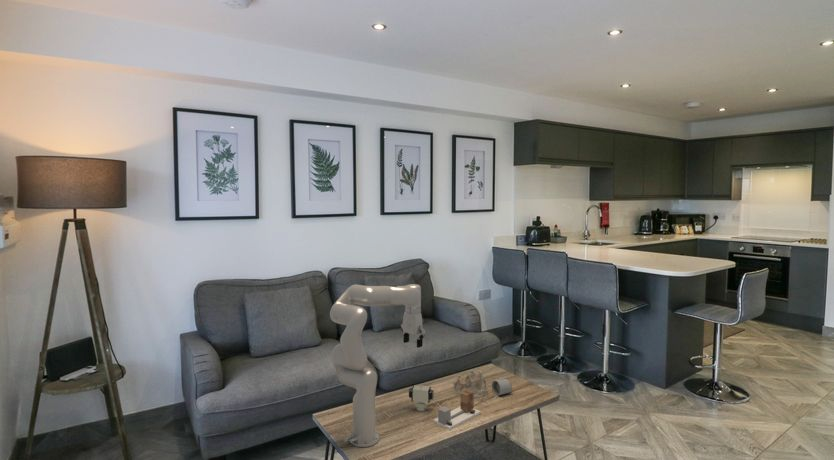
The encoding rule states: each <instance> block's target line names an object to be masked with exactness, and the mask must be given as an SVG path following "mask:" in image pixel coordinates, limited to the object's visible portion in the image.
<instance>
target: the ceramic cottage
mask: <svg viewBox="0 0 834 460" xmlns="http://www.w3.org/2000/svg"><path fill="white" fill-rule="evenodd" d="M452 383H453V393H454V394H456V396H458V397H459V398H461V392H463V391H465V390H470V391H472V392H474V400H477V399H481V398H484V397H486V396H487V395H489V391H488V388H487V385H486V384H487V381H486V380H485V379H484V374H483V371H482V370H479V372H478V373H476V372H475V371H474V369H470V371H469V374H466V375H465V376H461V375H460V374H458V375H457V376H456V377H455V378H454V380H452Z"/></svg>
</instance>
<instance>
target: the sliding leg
mask: <svg viewBox="0 0 834 460" xmlns="http://www.w3.org/2000/svg"><path fill="white" fill-rule="evenodd" d="M474 401H475V399H474V392H472V391H470V390H465V391H463V392H461V397H460V406H461V409H462V410H464V411H466V412H468V411H469V410H471V411H474V412H475V410H474V409H475V408H474V407H475V406H474V405H475V404H474V403H475V402H474ZM473 408H474V409H473Z"/></svg>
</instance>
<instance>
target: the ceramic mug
mask: <svg viewBox="0 0 834 460" xmlns="http://www.w3.org/2000/svg"><path fill="white" fill-rule="evenodd" d="M491 389H492V392H493V394H494V395H495V396H502V395H505V394H509V393H511V392H512V390H513V388H512V383H511V381H510V380H509V379H506V378H503V379H494V380H493V381H492V383H491Z"/></svg>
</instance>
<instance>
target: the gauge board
mask: <svg viewBox="0 0 834 460" xmlns="http://www.w3.org/2000/svg"><path fill="white" fill-rule="evenodd" d="M473 409H474V410H475V412H474V411H471V410H469V411H468V412H466V411H464V410H462V409H461V405H460V406H459V407H456V408H454V409H451V408H449V407H447V406H442V407H440V408H438V409H437V417H436V418H433V421H432V422H433V423H434V424H437V426H440V427H443V428H444V429H447V430H448V431H452V430H453V429H455V428H456V427H458V426H461V425H462V424H464V423H466V422H468V421H470V420H471V419H473V418H475V417H478V416H479V415H481V413H482V412H481V410H479V409H476V408H473Z"/></svg>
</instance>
